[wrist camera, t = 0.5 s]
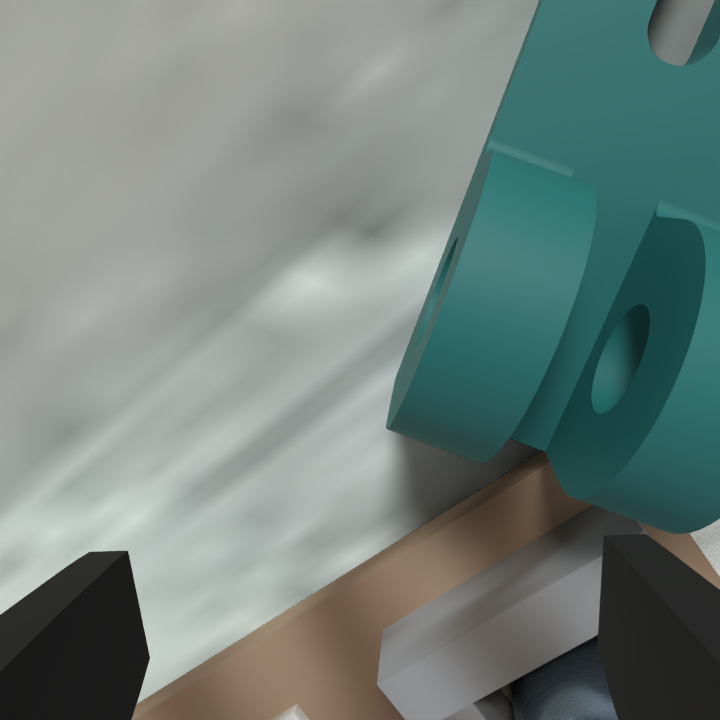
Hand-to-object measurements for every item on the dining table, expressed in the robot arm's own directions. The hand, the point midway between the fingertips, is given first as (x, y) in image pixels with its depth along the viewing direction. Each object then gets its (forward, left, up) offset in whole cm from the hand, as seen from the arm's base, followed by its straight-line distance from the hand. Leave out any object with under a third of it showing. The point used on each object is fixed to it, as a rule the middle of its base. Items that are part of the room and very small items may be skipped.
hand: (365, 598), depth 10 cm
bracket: (+9, -5, -12) cm, 15 cm away
